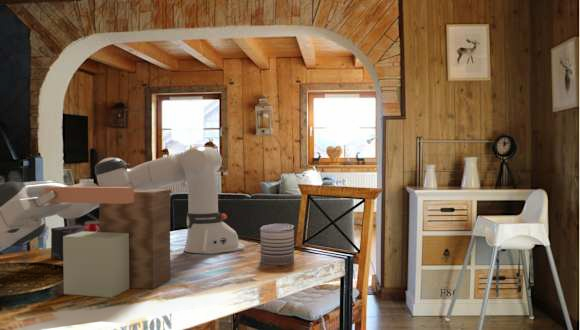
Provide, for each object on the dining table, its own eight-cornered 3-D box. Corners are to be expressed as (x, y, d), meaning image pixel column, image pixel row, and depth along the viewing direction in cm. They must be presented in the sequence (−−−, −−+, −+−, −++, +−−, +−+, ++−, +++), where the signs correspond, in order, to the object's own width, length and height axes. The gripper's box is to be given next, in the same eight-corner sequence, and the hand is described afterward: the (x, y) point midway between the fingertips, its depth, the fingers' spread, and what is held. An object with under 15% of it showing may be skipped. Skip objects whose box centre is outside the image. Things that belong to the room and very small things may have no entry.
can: (300, 261, 161) (300, 226, 161) (273, 266, 154) (273, 229, 154) (280, 256, 170) (280, 222, 170) (253, 260, 163) (253, 225, 163)
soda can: (98, 261, 161) (97, 223, 161) (79, 261, 163) (78, 222, 162) (110, 257, 168) (109, 220, 168) (92, 256, 169) (91, 220, 169)
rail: (44, 202, 126) (44, 187, 126) (53, 201, 130) (53, 186, 130) (126, 203, 121) (126, 187, 121) (133, 202, 125) (133, 187, 124)
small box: (61, 260, 164) (60, 229, 164) (50, 258, 167) (49, 228, 167) (88, 254, 173) (88, 225, 173) (77, 252, 176) (77, 224, 176)
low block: (63, 294, 124) (63, 236, 124) (83, 285, 132) (82, 231, 132) (112, 297, 121) (111, 238, 121) (129, 288, 129) (128, 233, 129)
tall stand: (98, 285, 132) (97, 191, 131) (120, 276, 142) (119, 188, 141) (153, 289, 128) (152, 192, 127) (171, 279, 138) (171, 189, 138)
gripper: (55, 222, 140) (91, 199, 137) (-2, 233, 120) (39, 207, 117) (45, 203, 140) (81, 180, 138) (-13, 211, 121) (27, 184, 118)
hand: (61, 192), depth 127 cm, fingers closed on rail, 3 cm apart
